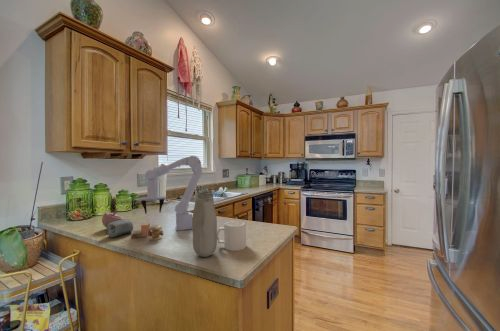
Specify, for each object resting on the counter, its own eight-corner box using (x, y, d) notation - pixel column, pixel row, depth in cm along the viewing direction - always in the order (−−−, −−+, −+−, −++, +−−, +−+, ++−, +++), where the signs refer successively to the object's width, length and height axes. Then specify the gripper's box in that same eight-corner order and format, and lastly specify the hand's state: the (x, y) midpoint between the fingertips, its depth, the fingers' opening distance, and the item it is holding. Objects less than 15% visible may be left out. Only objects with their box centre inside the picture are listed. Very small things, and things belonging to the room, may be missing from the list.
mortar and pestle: (126, 229, 141) (125, 210, 141) (102, 233, 134) (102, 213, 134) (123, 225, 151) (123, 207, 151) (101, 228, 144) (101, 209, 144)
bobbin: (161, 235, 128) (161, 224, 127) (162, 239, 122) (161, 227, 122) (149, 237, 125) (149, 226, 125) (149, 240, 120) (149, 229, 120)
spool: (111, 234, 121) (111, 215, 125) (102, 240, 125) (103, 221, 130) (137, 234, 131) (136, 217, 136) (128, 239, 136) (128, 222, 140)
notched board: (162, 231, 137) (161, 227, 136) (162, 234, 130) (162, 230, 130) (133, 234, 131) (133, 230, 131) (132, 238, 124) (132, 234, 124)
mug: (216, 251, 104) (216, 227, 104) (217, 243, 115) (217, 221, 114) (247, 250, 106) (246, 226, 106) (245, 242, 116) (245, 220, 116)
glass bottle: (217, 259, 96) (216, 190, 96) (192, 261, 95) (190, 191, 94) (217, 250, 106) (216, 187, 106) (193, 251, 105) (192, 188, 104)
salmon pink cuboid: (150, 234, 131) (149, 223, 131) (148, 236, 128) (147, 225, 128) (143, 234, 131) (143, 223, 131) (141, 236, 127) (141, 225, 127)
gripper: (165, 188, 146) (165, 210, 146) (139, 189, 140) (139, 212, 140) (165, 189, 139) (166, 212, 140) (138, 191, 134) (139, 215, 134)
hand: (153, 212), depth 140 cm, fingers open, 7 cm apart
